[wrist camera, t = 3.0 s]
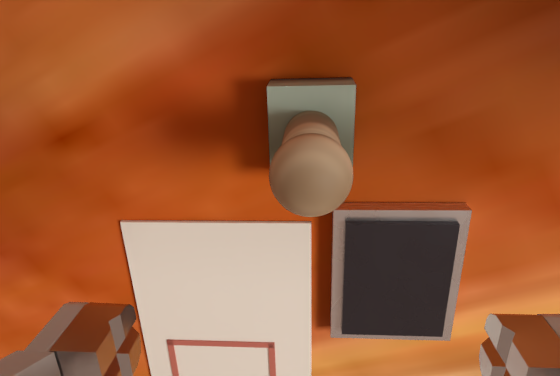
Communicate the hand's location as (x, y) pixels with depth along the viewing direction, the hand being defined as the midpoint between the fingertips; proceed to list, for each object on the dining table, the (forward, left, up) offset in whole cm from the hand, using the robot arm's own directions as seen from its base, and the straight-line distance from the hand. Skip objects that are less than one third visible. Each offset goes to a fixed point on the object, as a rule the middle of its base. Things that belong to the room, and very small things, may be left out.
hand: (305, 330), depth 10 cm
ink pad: (+11, +6, -19) cm, 23 cm away
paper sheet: (+18, -7, -19) cm, 27 cm away
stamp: (0, 0, -19) cm, 19 cm away
